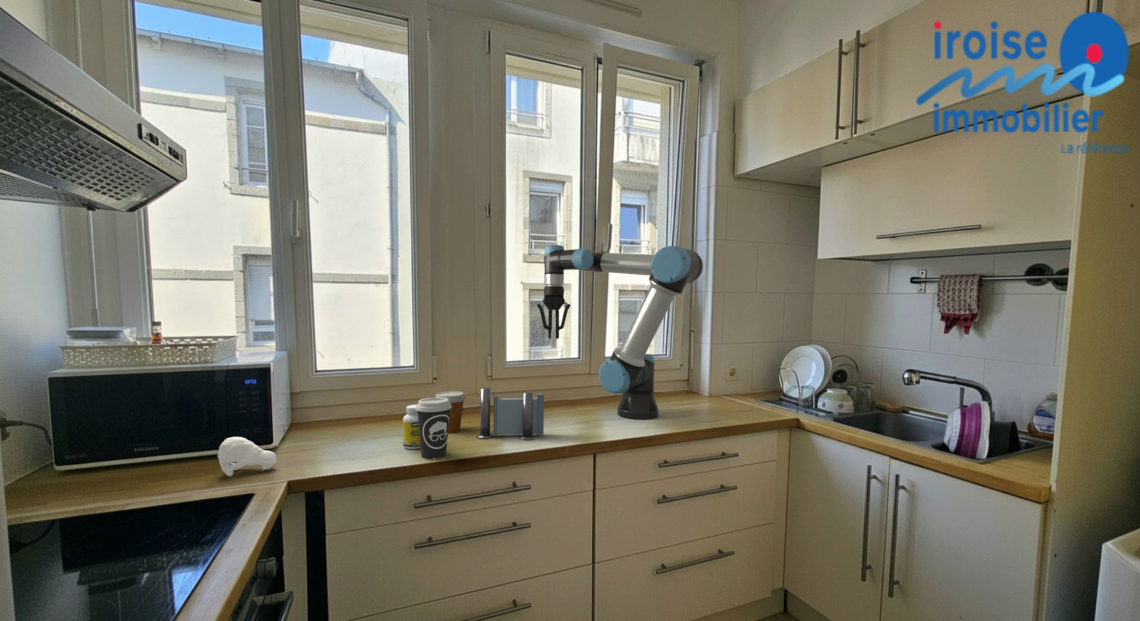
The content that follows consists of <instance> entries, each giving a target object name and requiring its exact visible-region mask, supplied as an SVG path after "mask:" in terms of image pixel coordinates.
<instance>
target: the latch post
mask: <svg viewBox="0 0 1140 621" xmlns="http://www.w3.org/2000/svg"><path fill="white" fill-rule="evenodd" d="M533 395H534V392H533V391H524V392H522V398H523V435H519V439H520V440H521V439H522V440H523V441H532V440H535V439H536V437H537V436H536V434H533V398H534V396H533ZM522 440H521V441H522Z"/></svg>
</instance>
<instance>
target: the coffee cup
mask: <svg viewBox="0 0 1140 621" xmlns="http://www.w3.org/2000/svg"><path fill="white" fill-rule="evenodd" d="M415 405H416V408H415V410H417V414H418V424H419V435H420V446H421V448H420V455H421V458H423V459H426V458H427V459H426V460H434V459H433V458H436V459H440V457H441V458H443V457H445V456H446V455H447V447H448V436H449V433H448V426H449V415H450V409H451V408H452V405H451V403H450V402H449V399H447V398H442V397H436V396H434V397H425V398H421V399H419V400H418V402H417V404H415ZM442 456H443V457H442Z"/></svg>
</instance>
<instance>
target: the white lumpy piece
mask: <svg viewBox="0 0 1140 621" xmlns="http://www.w3.org/2000/svg"><path fill="white" fill-rule="evenodd" d="M217 459H218V461H219V466H220V468H221V470H222V471H223V472H224V474H225V475H226V476H227V477H232V476H233V475H234V471H237V470H238V471H239V470H240V469H242V468H244V467H251V466H261V467H260V468H261V472H263V471H265V470H270V469H271V468H272V467H273V465H274V464H275V463H276V462H277V455H276V454H275V452H273V451H271V450H265V449H262V448H260V447H259V445H256V444H255V443H254V442H253V441H251V440H248V439H247V438H245V437H243V436H242V437H241V436H232V437H228V438H225V439H224V441H222V443H221V444H220V445H219V448H218V453H217Z"/></svg>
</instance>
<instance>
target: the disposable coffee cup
mask: <svg viewBox="0 0 1140 621" xmlns="http://www.w3.org/2000/svg"><path fill="white" fill-rule="evenodd" d="M435 397H442V398H447V399H449V402H450V403H451V405H452V408H451V409H450V415H449V426H448V434H451V433H452V434H454V433H457V432H460V430H461V425H462V419H463V418H462V416H463V408H464V401H465V399H466V396H465V393H464V392H462V391H459V390H458V391H457V390H453V391H452V390H448V391H440V392H438V393H436V394H435Z"/></svg>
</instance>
